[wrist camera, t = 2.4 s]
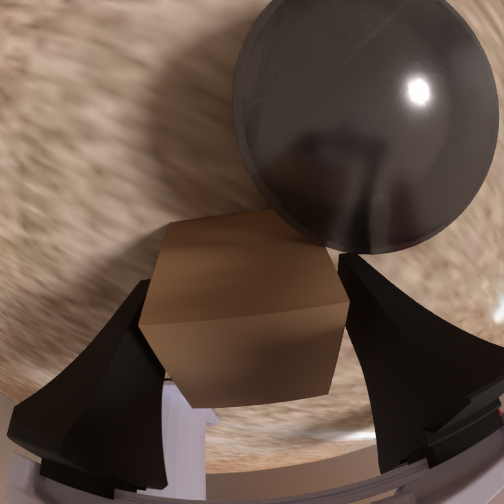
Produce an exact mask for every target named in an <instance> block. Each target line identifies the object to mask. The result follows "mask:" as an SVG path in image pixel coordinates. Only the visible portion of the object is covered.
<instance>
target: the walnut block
mask: <svg viewBox="0 0 504 504" xmlns="http://www.w3.org/2000/svg"><path fill="white" fill-rule="evenodd" d="M349 303H350V301H349V298H348V296H347V294H346V291H345V289H344V287H343V285H342V282H341V280H340V278H339V276H338V274H337V271H336V269H335V267H334V265H333V263H332V260H331V258H330V256H329V254H328V252H327V250H326V248H325V246H323V245H321V244H319V243H317V242H314V241H312V240H310V239H309V238H307V237H305V236H304V235H302V234H301V233H299V232H297V231H296V230H295V229H293V228H292V227H291V226H290V225H289V224H287V223H286V222H285V221H284V220H282V219H281V217H280V216H279V215H278V214H277V213H276V212H275V211H274V210H273V209H266V210H258V211H250V212H242V213H234V214H226V215H219V216H212V217H204V218H197V219H190V220H184V221H177V222H170V224H169V227H168V230H167V233H166V236H165V238H164V241H163V244H162V247H161V250H160V253H159V256H158V259H157V263H156V266H155V269H154V272H153V275H152V279H151V282H150V285H149V289H148V292H147V295H146V299H145V302H144V306H143V309H142V313H141V317H140V320H139V324H138V326H139V328H140V329H141V331H142V333H143V335H144V336H145V338H146V340H147V341H148V343H149V345H150V346H151V348H152V350H153V351H154V353H155V354H156V356H157V358H158V359H159V361H160V362H161V364H162V365H163V367H164V369H165V370H166V372H167V373H168V375H169V376H170V378H171V379H172V381H173V382H174V383H175V385H176V386H177V388H178V389H179V391H180V392H181V394H182V395H183V396H184V398H185V399H186V401H187V402H188V403H189V405H190V406H191V407H192V409H204V408H226V407H240V406H252V405H262V404H270V403H278V402H286V401H293V400H299V399H305V398H311V397H316V396H322V395H327V394H328V393H329V389H330V386H331V382H332V378H333V375H334V371H335V367H336V363H337V359H338V355H339V350H340V346H341V342H342V337H343V333H344V328H345V323H346V319H347V314H348V308H349Z"/></svg>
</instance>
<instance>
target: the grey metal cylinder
mask: <svg viewBox="0 0 504 504" xmlns="http://www.w3.org/2000/svg"><path fill="white" fill-rule="evenodd" d="M232 104H233V117H234V127H235V132H236V136H237V141H238V145H239V149H240V152H241V154H242V157H243V160H244V163H245V165H246V168H247V170H248V172H249V174H250V176H251V178H252V180H253V182H254V184H255V186H256V187H257V189H258V190H259V192H260V193H261V195H262V196H263V197H264V199H265V200H266V202H267V203H268V205H269V206H270V207H271V208H272V209H273V210H274V211H275V212H276V213H277V214H278V215H279V216H280V217H281V219H282V220H284V221H285V222H286V223H287V224H289V225H290V226H291V227H292V228H293V229H295V230H296V231H297V232H299V233H301V234H302V235H304V236H305V237H307V238H309V239H310V240H312V241H314V242H317V243H319V244H321V245H323V246H326V247H328V248H332V249H335V250H338V251H342V252H347V253H354V254H370V255H374V254H384V253H391V252H396V251H400V250H404V249H407V248H410V247H412V246H415V245H418V244H420V243H422V242H424V241H426V240H428V239H430V238H431V237H433V236H435V235H436V234H438V233H439V232H441V231H442V230H444V229H445V228H446V227H447V226H448V225H450V224H451V223H452V222H453V221H454V220H455V219H456V218H457V217H458V216H459V215H460V214H461V213H462V212H463V211H464V210H465V209H466V208H467V206H468V205H469V204H470V203H471V201H472V200H473V198H474V197H475V195H476V194H477V192H478V191H479V189H480V187H481V186H482V184H483V182H484V180H485V178H486V176H487V173H488V171H489V168H490V165H491V163H492V160H493V156H494V152H495V148H496V143H497V137H498V129H499V105H498V95H497V89H496V84H495V80H494V76H493V73H492V69H491V66H490V64H489V61H488V59H487V56H486V54H485V52H484V50H483V48H482V46H481V44H480V42H479V40H478V39H477V37H476V35H475V34H474V32H473V31H472V29H471V28H470V27H469V25H468V24H467V23H466V21H465V20H464V19H463V18H462V17H461V16H460V14H459V13H458V12H457V11H456V10H455V9H454V8H453V7H452V6H451V5H450V4H449V3H447V2H446V1H445V0H272V1H271V2H270V3H269V5H268V6H267V7H266V8H265V9H264V10H263V11H262V12H261V14H260V15H259V16H258V18H257V20H256V21H255V23H254V24H253V26H252V28H251V29H250V31H249V33H248V35H247V37H246V39H245V42H244V44H243V47H242V49H241V52H240V54H239V58H238V62H237V67H236V71H235V75H234V84H233V98H232Z"/></svg>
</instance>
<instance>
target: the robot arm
mask: <svg viewBox="0 0 504 504" xmlns="http://www.w3.org/2000/svg"><path fill="white" fill-rule="evenodd" d="M337 274H338V276H339V278H340V280H341V282H342V285H343V287H344V289H345V291H346V294H347V296H348V298H349V301H350V303H349V308H348V314H347V319H346V323H345V327H346V330H347V332H348V335H349V337H350V339H351V342H352V344H353V347H354V349H355V352H356V354H357V357H358V360H359V362H360V365H361V368H362V371H363V374H364V378H365V382H366V386H367V390H368V394H369V399H370V404H371V409H372V414H373V420H374V426H375V433H376V441H377V450H378V463H379V469H380V473H381V474H383V475H380V476H377V477H374V478H371V479H368V480H364V481H361V482H358V483H354V484H350V485H346V486H342V487H338V488H333V489H329V490H325V491H319V492H314V493H309V494H302V495H296V496H289V497H281V498H271V499H259V500H242V501H241V500H240V501H206V485H205V426H210V425H218V424H219V419H218V417H217V416H216V414H215V413H214V411H213V409H212V408H204V409H192V407H191V406H190V405H189V403H188V402H187V401H186V399H185V398H184V396H183V395H182V394H181V392H180V391H179V389H178V388H177V386H176V385H175V383H174V382H173V381H164V378H165V372H166V370H165V369H164V367H163V365H162V364H161V362H160V361H159V359H158V358H157V356H156V354H155V353H154V351H153V350H152V348H151V346H150V345H149V343H148V341H147V340H146V338H145V336H144V335H143V333H142V331H141V329H140V328H139V326H138V324H139V320H140V317H141V313H142V309H143V306H144V302H145V299H146V295H147V292H148V289H149V285H150V282H151V279H146V280H141V281H140V282H139V283H138V285H137V286H136V287H135V288H134V289H133V291H132V292H131V293H130V295H129V296H128V297H127V298H126V300H125V301H124V302H123V304H122V305H121V306H120V307H119V309H118V310H117V311H116V313H115V314H114V315H113V317H112V318H111V319H110V320H109V322H108V323H107V324H106V325H105V326H104V328H103V329H102V330H101V331H100V332H99V334H98V335H97V336H96V337H95V339H94V340H93V341H92V342H91V343H90V344H89V345H88V346H87V347H86V349H85V350H84V351H83V352H82V353H81V354H80V355H79V356H78V357H77V358H76V359H75V360H74V361H73V362H72V363H71V364H70V365H69V366H67V367H66V368H65V369H64V370H63V371H62V372H61V373H60V374H59V375H58V376H56V377H55V378H54V379H53V380H52V381H50V382H49V383H48V384H47V385H45V386H44V387H43V388H41V389H40V390H39V391H37V392H36V393H35V394H33V395H32V396H30V397H29V398H27V399H26V400H24V401H23V402H21V403H19V404H18V405H16V406H15V407H14V410H13V413H12V417H11V420H10V424H9V428H8V432H7V436H8V438H9V439H10V440H12V441H13V442H15V443H16V444H18V445H19V446H21V447H23V448H25V449H26V450H28V451H30V452H31V453H33V454H35V455H37V456H39V457H41V458H42V461H41V464H40V463H38V462H36V461H34V460H32V459H29V458H27V457H25V456H23V455H21V454H19V453H16V452H15V451H13V452H12V456H11V461H10V466H9V472H8V478H7V486H6V494H5V500H6V502H8V503H9V504H348V503H351V502H355V501H359V500H362V499H365V498H369V497H372V496H375V495H378V494H381V493H384V492H387V491H390V490H393V489H395V488H398V487H399V488H398V489H397V490H396V492H395V494H394V495H393V496H390V497H387V498H383V499H380V500H377V501H374V502H371V503H368V504H486V503H488V501H490V500H491V499H492V498H493V497H494V496H495V495H497V494H498V493H499V492H500V491H501V490H502V489H503V488H504V412H503V413H502V414H500V413H499V411H498V408H499V407H501V402H500V400H499V397H500V396H501V395H502V394H503V393H504V347H501V346H499V345H496V344H493V343H490V342H488V341H485V340H483V339H481V338H478V337H476V336H474V335H472V334H470V333H468V332H466V331H464V330H462V329H460V328H458V327H456V326H454V325H452V324H451V323H449V322H447V321H445V320H443V319H442V318H440V317H438V316H437V315H435V314H434V313H432V312H431V311H429V310H428V309H426V308H424V307H423V306H422V305H420V304H419V303H417V302H416V301H414V300H413V299H412V298H410V297H409V296H408V295H406V294H405V293H404V292H402V291H401V290H400V289H399V288H397V287H396V286H395V285H394V284H392V283H391V282H390V281H389V280H387V279H386V278H385V277H384V276H383V275H381V274H380V273H379V272H378V271H377V270H376V269H374V268H373V267H372V266H371V265H370V264H368V263H367V262H366V261H365V260H364V259H363V258H361V257H360V256H359V255H358V254H354V253H343V254H339V261H338V272H337ZM406 465H408V466H406ZM403 466H405V467H403ZM400 467H403V468H400ZM398 468H400V469H398ZM395 469H397V470H395ZM393 470H395V471H393ZM390 471H392V472H390ZM387 472H389V473H387ZM384 473H386V474H384Z"/></svg>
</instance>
